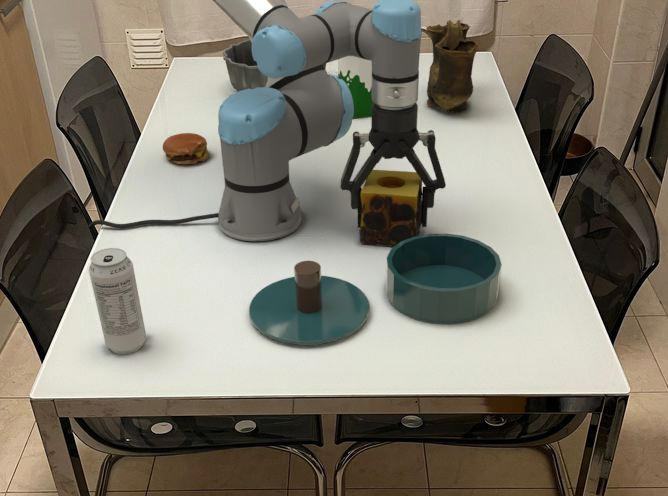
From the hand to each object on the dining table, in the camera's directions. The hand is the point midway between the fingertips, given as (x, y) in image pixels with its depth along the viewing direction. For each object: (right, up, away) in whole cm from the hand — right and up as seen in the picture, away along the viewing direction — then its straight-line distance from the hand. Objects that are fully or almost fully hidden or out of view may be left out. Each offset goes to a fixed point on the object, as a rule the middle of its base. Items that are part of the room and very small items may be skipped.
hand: (391, 223), depth 149 cm
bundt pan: (-24, +43, +63) cm, 80 cm away
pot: (+7, -13, -15) cm, 21 cm away
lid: (-14, -16, -19) cm, 29 cm away
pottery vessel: (+17, +36, +51) cm, 65 cm away
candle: (0, -2, +1) cm, 2 cm away
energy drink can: (-41, -22, -24) cm, 53 cm away
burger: (-41, +19, +30) cm, 55 cm away
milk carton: (-4, +34, +50) cm, 60 cm away
